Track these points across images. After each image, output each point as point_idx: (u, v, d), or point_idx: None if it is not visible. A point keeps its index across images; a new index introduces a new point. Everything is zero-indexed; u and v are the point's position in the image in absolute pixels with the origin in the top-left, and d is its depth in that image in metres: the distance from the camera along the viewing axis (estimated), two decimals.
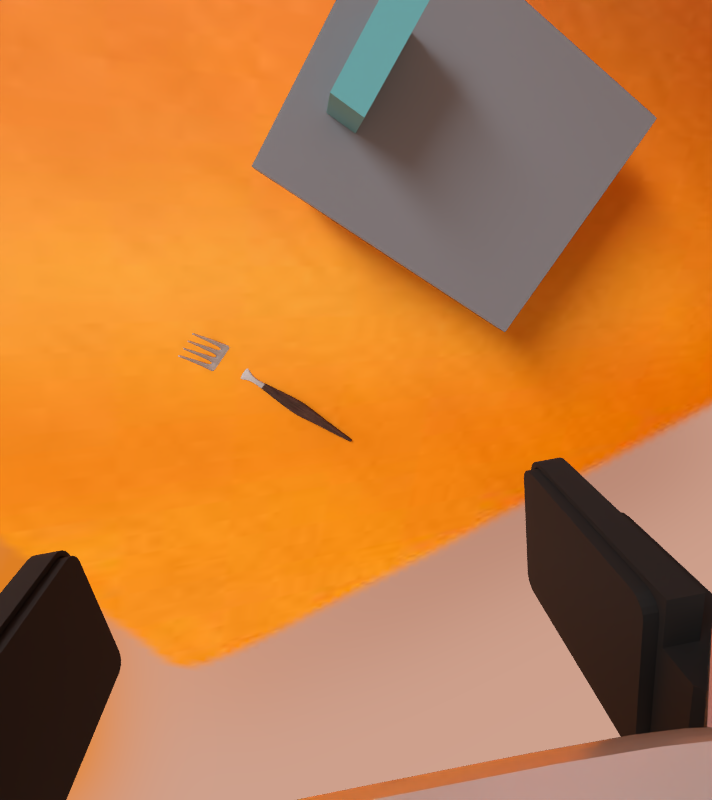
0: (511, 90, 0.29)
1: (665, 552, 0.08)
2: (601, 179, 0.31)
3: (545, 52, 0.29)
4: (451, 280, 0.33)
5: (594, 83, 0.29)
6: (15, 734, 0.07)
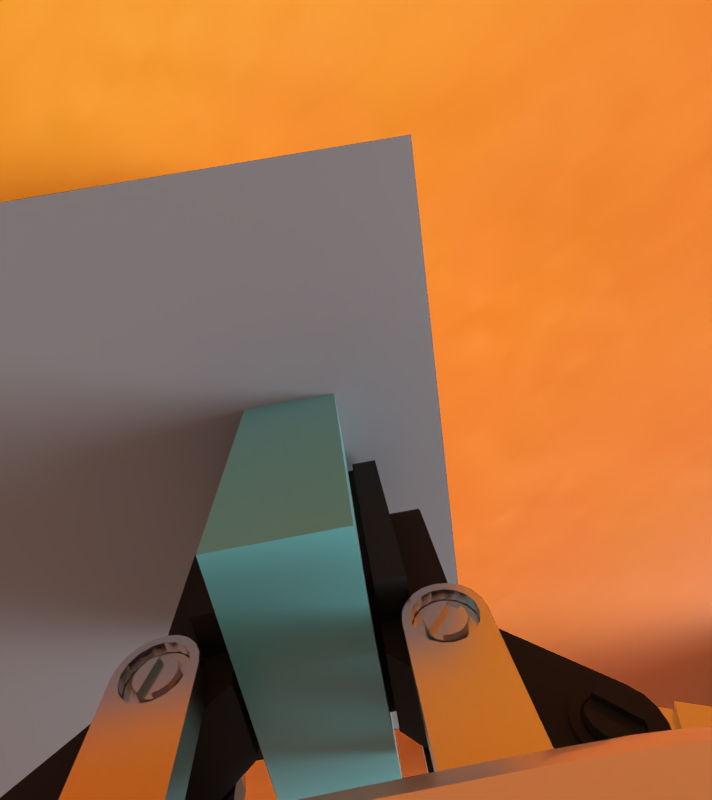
0: (59, 692, 0.13)
1: (430, 543, 0.09)
2: None
3: None
4: None
5: None
6: None
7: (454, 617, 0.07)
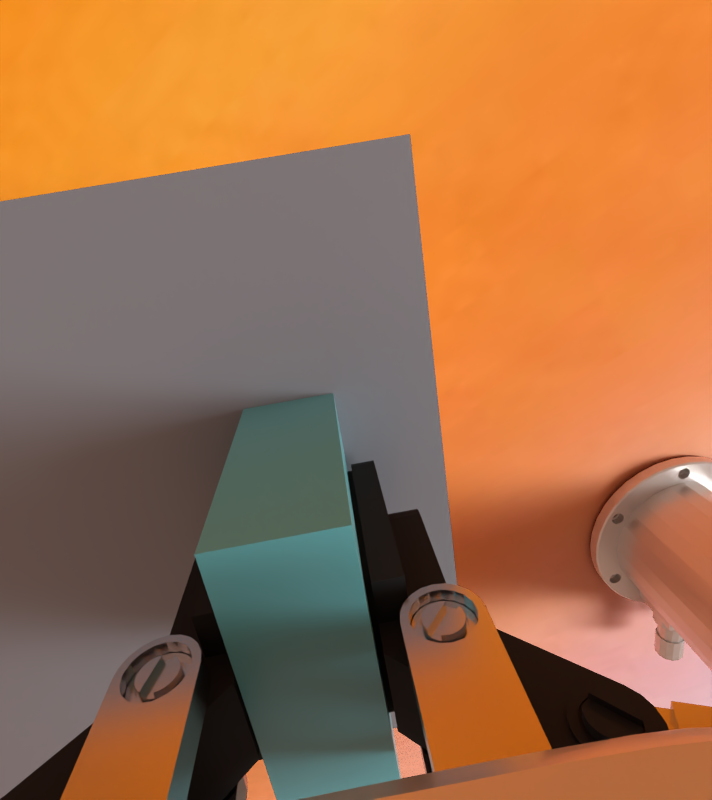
0: (58, 690, 0.13)
1: (429, 543, 0.09)
2: None
3: None
4: None
5: None
6: None
7: (452, 617, 0.07)
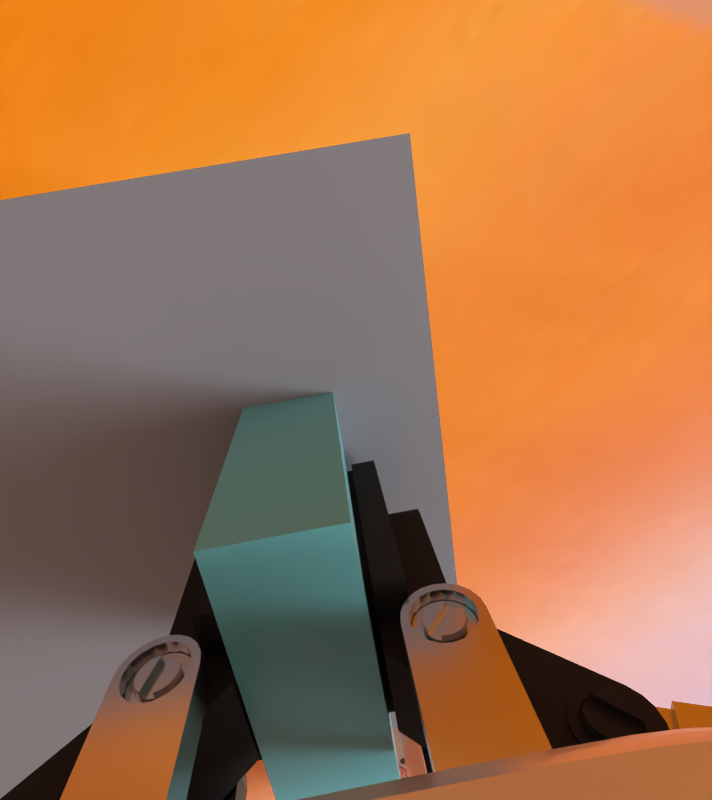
0: (57, 691, 0.13)
1: (429, 543, 0.09)
2: None
3: None
4: None
5: None
6: None
7: (452, 617, 0.07)
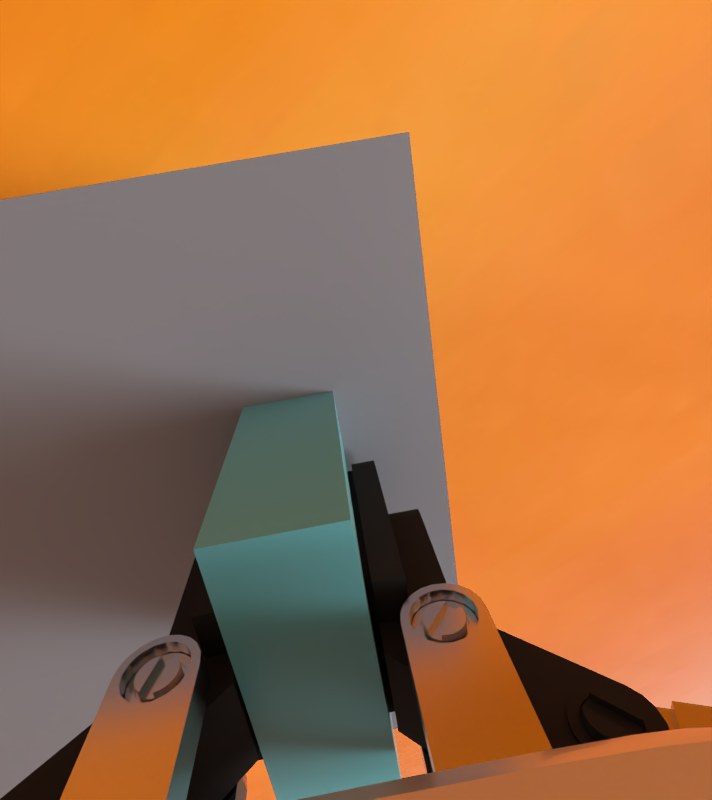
0: (58, 691, 0.13)
1: (429, 543, 0.09)
2: None
3: None
4: None
5: None
6: None
7: (452, 617, 0.07)
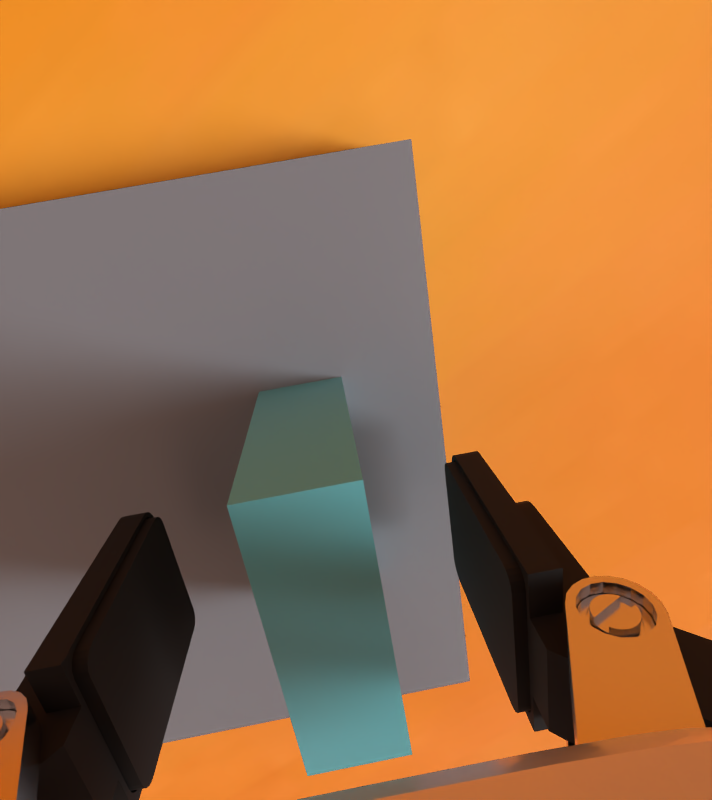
0: None
1: (555, 536, 0.09)
2: None
3: None
4: None
5: None
6: (129, 666, 0.08)
7: (623, 611, 0.06)
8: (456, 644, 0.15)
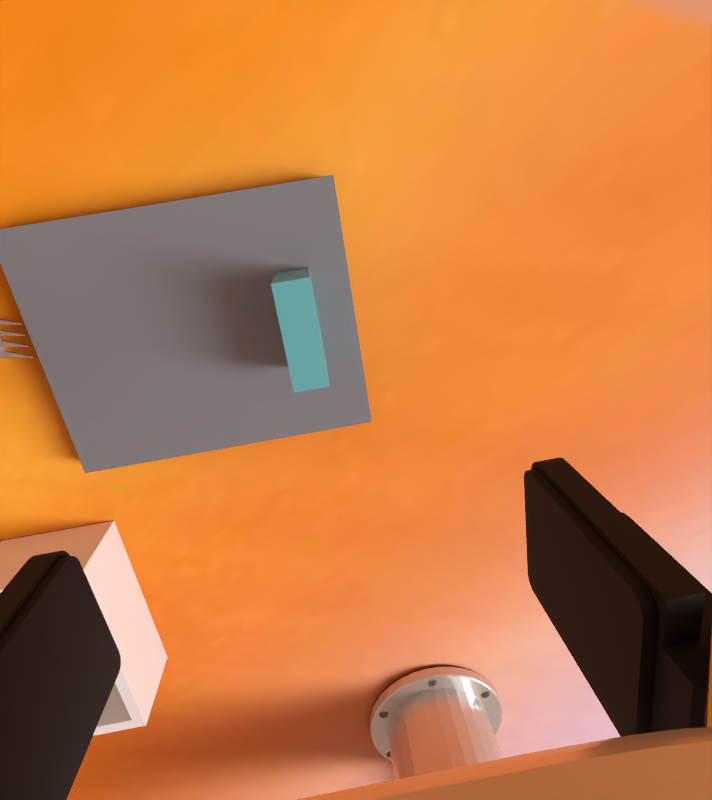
0: (198, 397, 0.32)
1: (665, 552, 0.08)
2: (71, 410, 0.32)
3: (200, 434, 0.33)
4: (88, 231, 0.28)
5: (150, 450, 0.33)
6: (15, 734, 0.07)
7: None
8: (363, 400, 0.33)
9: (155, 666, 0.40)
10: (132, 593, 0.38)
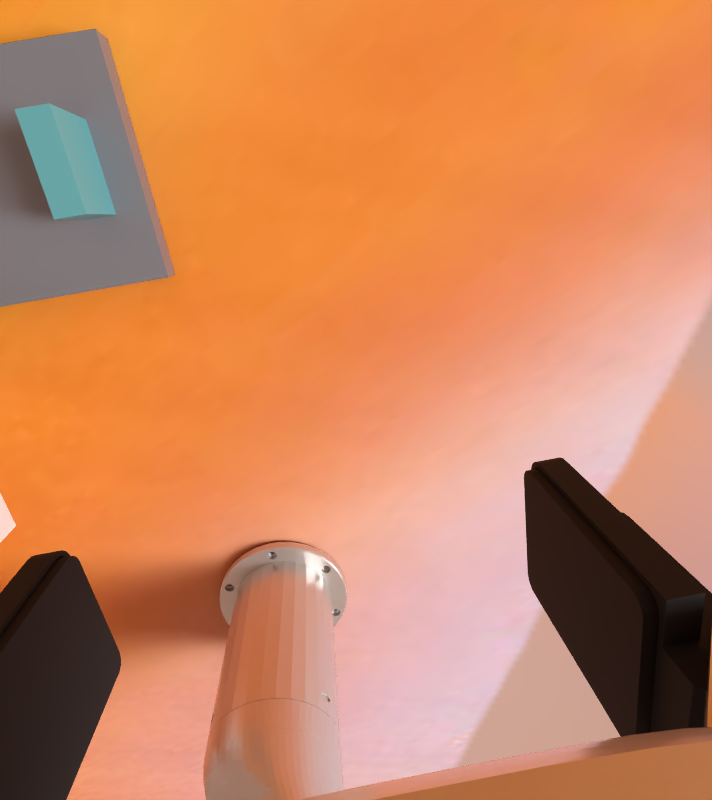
0: None
1: (665, 552, 0.08)
2: None
3: (7, 286, 0.36)
4: None
5: None
6: (15, 734, 0.07)
7: None
8: (157, 255, 0.36)
9: None
10: None
